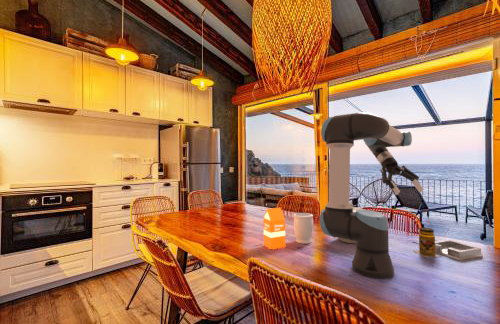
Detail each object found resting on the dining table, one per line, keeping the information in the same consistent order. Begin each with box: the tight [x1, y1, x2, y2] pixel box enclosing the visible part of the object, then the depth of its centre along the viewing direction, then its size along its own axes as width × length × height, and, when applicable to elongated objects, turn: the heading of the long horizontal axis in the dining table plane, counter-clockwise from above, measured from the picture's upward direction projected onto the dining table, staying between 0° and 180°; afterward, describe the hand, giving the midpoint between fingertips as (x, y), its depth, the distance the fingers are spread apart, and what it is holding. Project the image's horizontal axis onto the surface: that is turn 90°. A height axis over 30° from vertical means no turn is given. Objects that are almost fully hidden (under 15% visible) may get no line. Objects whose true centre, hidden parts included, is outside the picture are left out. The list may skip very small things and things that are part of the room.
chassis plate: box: [435, 239, 484, 261], centre depth 116 cm, size 15×14×4 cm
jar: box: [293, 212, 314, 245], centre depth 137 cm, size 11×10×15 cm
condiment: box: [413, 227, 442, 258], centre depth 116 cm, size 7×8×12 cm
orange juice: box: [263, 207, 286, 250], centre depth 130 cm, size 8×9×20 cm
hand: (410, 192), depth 124 cm, fingers open, 13 cm apart
